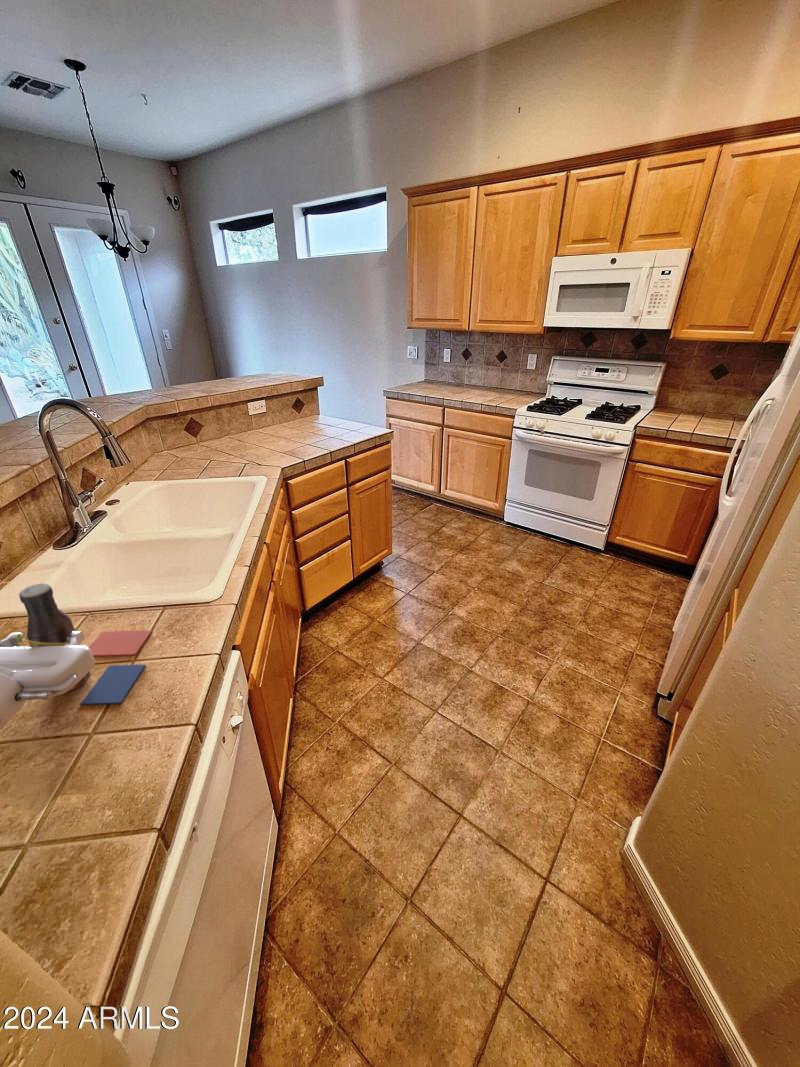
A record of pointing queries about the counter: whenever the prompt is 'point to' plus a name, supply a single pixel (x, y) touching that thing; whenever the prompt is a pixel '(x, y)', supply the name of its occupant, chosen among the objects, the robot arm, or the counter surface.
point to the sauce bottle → (46, 620)
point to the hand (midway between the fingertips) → (49, 635)
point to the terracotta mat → (119, 643)
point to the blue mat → (113, 685)
